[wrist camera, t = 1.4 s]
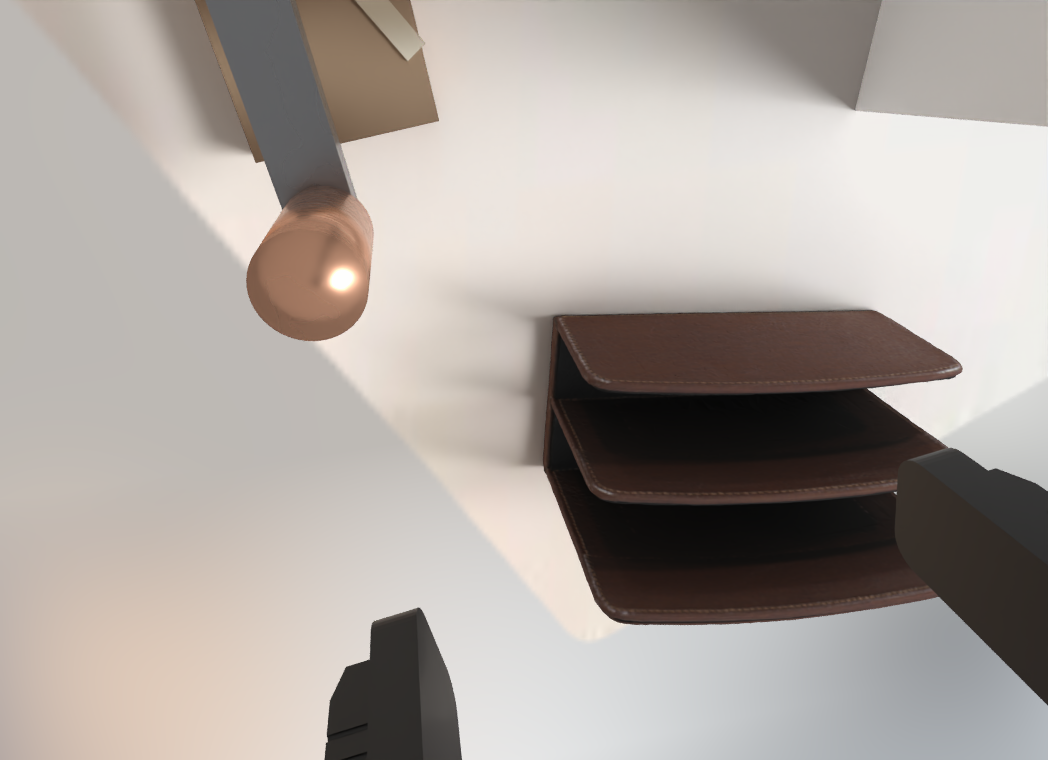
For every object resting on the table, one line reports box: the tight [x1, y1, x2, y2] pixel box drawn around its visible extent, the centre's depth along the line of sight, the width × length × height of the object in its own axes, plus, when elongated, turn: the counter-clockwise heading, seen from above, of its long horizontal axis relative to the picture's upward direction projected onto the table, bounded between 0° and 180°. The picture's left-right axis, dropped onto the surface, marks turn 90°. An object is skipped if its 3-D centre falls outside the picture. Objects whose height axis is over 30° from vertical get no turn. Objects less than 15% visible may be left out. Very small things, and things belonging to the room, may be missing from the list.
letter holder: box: [543, 310, 962, 625], centre depth 34 cm, size 10×20×14 cm, turn 87°
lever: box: [205, 0, 374, 341], centre depth 18 cm, size 17×4×8 cm, turn 11°
